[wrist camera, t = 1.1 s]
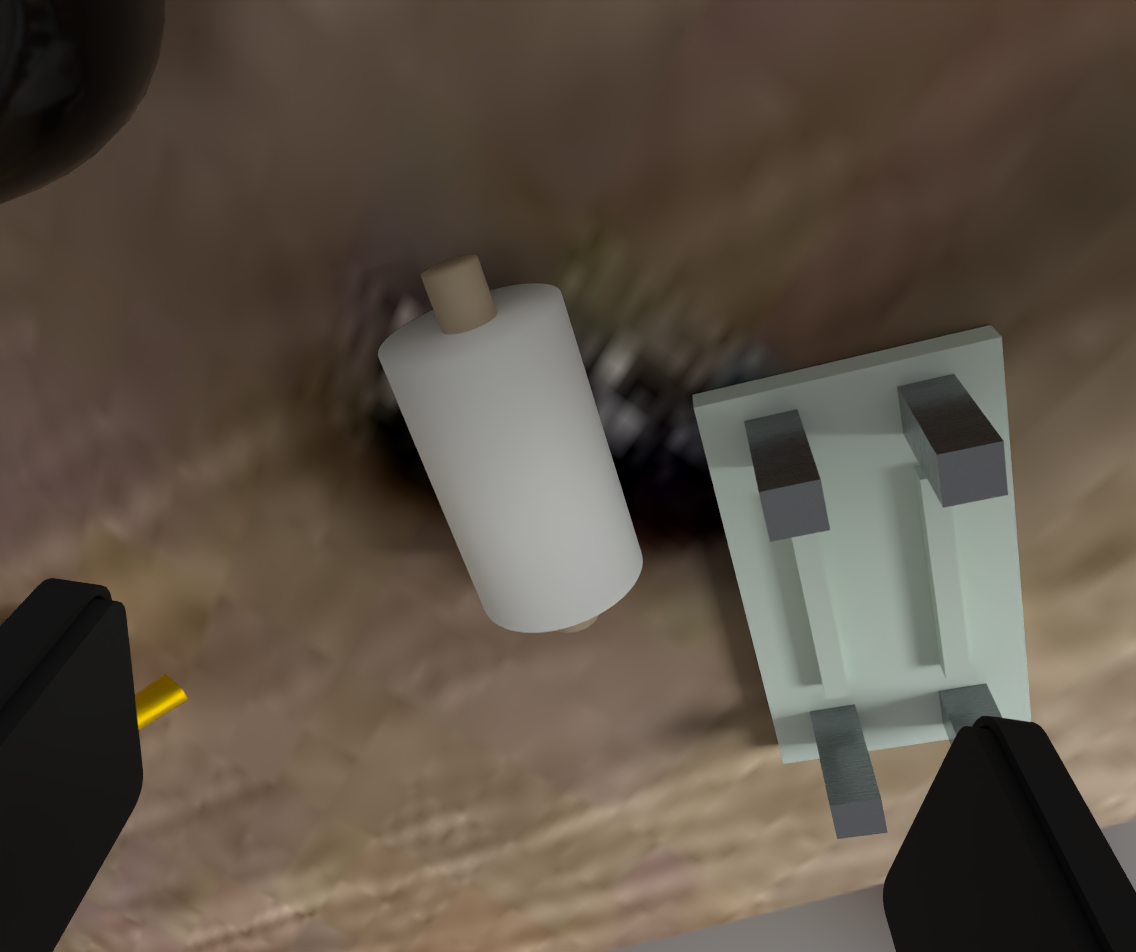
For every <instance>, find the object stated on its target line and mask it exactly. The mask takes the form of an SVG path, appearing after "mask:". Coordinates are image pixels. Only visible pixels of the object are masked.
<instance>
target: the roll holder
mask: <svg viewBox="0 0 1136 952" xmlns="http://www.w3.org/2000/svg"><path fill="white" fill-rule="evenodd" d="M692 397H693V407H694V411H695V415H696V419H697V423H698V427H699V431H700V435H701V439H702V443H703V447H704V451H705V455H706V459H707V463H708V467H709V471H710V475H711V479H712V483H713V487H714V491H715V494H716V498H717V502H718V506H719V510H720V514H721V518H722V522H723V526H724V530H725V534H726V538H727V542H728V546H729V550H730V554H731V558H732V562H733V566H734V570H735V574H736V578H737V581H738V585H739V589H740V593H741V597H742V601H743V605H744V609H745V613H746V617H747V621H748V625H749V629H750V633H751V637H752V641H753V645H754V649H755V653H756V657H757V661H758V665H759V669H760V672H761V676H762V680H763V684H764V688H765V692H766V696H767V700H768V704H769V708H770V712H771V716H772V720H773V724H774V728H775V732H776V736H777V740H778V744H779V748H780V752H781V756H782V759H783V763H784V764H785V763H792V762H798V761H805V760H812V759H819V758H820V762H821V767H822V771H823V776H824V781H825V785H826V790H827V795H828V799H829V804H830V809H831V813H832V817H833V822H834V826H835V831H836V835H837V839H841V838H849V837H856V836H864V835H872V834H879V833H887V828H886V822H885V817H884V812H883V806H882V801H881V797H880V793H879V790H878V786H877V782H876V779H875V775H874V772H873V768H872V764H871V761H870V757H869V754H868V751H873V750H880V749H886V748H893V747H900V746H907V745H913V744H920V743H927V742H934V741H940V740H947V739H949V741H950V743H951V745H952V743H953V741H954V739H955V737H956V735H957V733H958V732H959V730H960V729H961V728H962V727H964V726H971V727H972V725H973V724H974V723H975V721H976V720H977V719H978V718H980V717H981V716H993V717H1000V718H1007V719H1014V720H1020V721H1027V722H1031V712H1030V699H1029V686H1028V673H1027V660H1026V647H1025V634H1024V621H1023V608H1022V595H1021V581H1020V568H1019V555H1018V542H1017V529H1016V516H1015V503H1014V490H1013V477H1012V464H1011V451H1010V438H1009V425H1008V411H1007V398H1006V385H1005V372H1004V359H1003V346H1002V336H1001V335H1000V334H999V333H998V332H997V331H996V330H995V329H994V328H993V327H992V326H991V325H988V326H984V327H980V328H975V329H971V330H967V331H962V332H958V333H954V334H950V335H945V336H941V337H937V338H933V339H928V340H924V341H920V342H916V343H911V344H907V345H903V346H899V347H894V348H890V349H886V350H881V351H877V352H873V353H869V354H864V355H860V356H856V357H852V358H847V359H843V360H839V361H835V362H830V363H826V364H822V365H817V366H813V367H809V368H805V369H800V370H796V371H792V372H788V373H783V374H779V375H775V376H771V377H766V378H762V379H758V380H753V381H749V382H745V383H741V384H736V385H732V386H728V387H724V388H719V389H715V390H711V391H707V392H702V393H698V394H694V395H692Z"/></svg>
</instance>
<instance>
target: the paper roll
mask: <svg viewBox="0 0 1136 952" xmlns="http://www.w3.org/2000/svg"><path fill="white" fill-rule="evenodd" d="M421 278H422V281H423V283H424V286H425V289H426V291H427V294H428V297H429V299H430V302H431V305H432V307H433V310H432V311H429V312H427V313H425V314H423V315H421V316H419V317H418V318H416V319H414V320H412V321H410V322H409V323H407V324H405V325H404V326H402V327H401V328H399V329H398V330H396V331H395V332H394V333H393V334H391V335H390V336H389V337H388V338H387V339H386V340H385V341H384V342H383V343H382V345H381V346H380V348H379V350H378V357H379V360H380V362H381V364H382V367H383V369H384V372H385V374H386V376H387V379H388V381H389V384H390V386H391V388H392V391H393V393H394V396H395V398H396V400H397V403H398V405H399V407H400V410H401V412H402V415H403V417H404V419H405V422H406V424H407V427H408V429H409V431H410V434H411V436H412V439H413V441H414V443H415V446H416V448H417V450H418V453H419V455H420V458H421V460H422V462H423V465H424V467H425V470H426V472H427V474H428V477H429V479H430V481H431V484H432V486H433V489H434V491H435V493H436V496H437V498H438V501H439V503H440V505H441V508H442V510H443V513H444V515H445V517H446V520H447V522H448V524H449V527H450V529H451V532H452V534H453V536H454V539H455V541H456V544H457V546H458V548H459V551H460V553H461V556H462V558H463V560H464V563H465V565H466V567H467V570H468V572H469V575H470V577H471V579H472V582H473V584H474V587H475V589H476V591H477V594H478V596H479V599H480V601H481V603H482V606H483V608H484V610H485V612H486V614H487V616H488V617H489V618H490V619H491V620H492V621H493V622H494V623H496V624H497V625H499V626H501V627H503V628H505V629H509V630H512V631H517V632H527V633H537V632H548V631H555V630H557V631H560V632H563V633H573V632H578V631H581V630H583V629H585V628H587V627H589V626H590V625H592V624H593V623H594V622H595V621H596V620H597V618H598V616H599V614H601V613H602V612H604V611H606V610H607V609H609V608H610V607H612V606H613V605H614V604H616V603H617V602H618V601H619V600H621V599H622V598H623V597H624V596H625V595H626V594H627V593H628V592H629V591H630V590H631V588H632V587H633V586H634V584H635V583H636V581H637V579H638V577H639V575H640V573H641V570H642V564H643V559H642V553H641V550H640V547H639V543H638V540H637V537H636V534H635V530H634V527H633V524H632V521H631V517H630V514H629V511H628V508H627V504H626V501H625V498H624V495H623V491H622V488H621V485H620V482H619V478H618V475H617V472H616V469H615V465H614V462H613V459H612V456H611V452H610V449H609V446H608V443H607V439H606V436H605V433H604V430H603V426H602V423H601V420H600V417H599V413H598V410H597V407H596V404H595V400H594V397H593V394H592V391H591V387H590V384H589V381H588V378H587V374H586V371H585V368H584V365H583V361H582V358H581V355H580V352H579V348H578V345H577V342H576V339H575V335H574V332H573V329H572V326H571V322H570V319H569V316H568V313H567V309H566V306H565V303H564V300H563V296H562V293H561V290H560V289H559V288H557V287H555V286H553V285H549V284H543V283H528V284H518V285H511V286H505V287H501V288H497V289H493V290H490V291H489V288H488V285H487V282H486V279H485V276H484V273H483V270H482V267H481V264H480V262H479V259H478V256H477V255H465V256H460V257H456V258H452V259H449V260H446V261H443V262H441V263H439V264H436V265H434V266H432V267H430V268H428V269H427V270H425V271H424V272H423V273H422V274H421Z"/></svg>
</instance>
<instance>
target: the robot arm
mask: <svg viewBox="0 0 1136 952" xmlns="http://www.w3.org/2000/svg"><path fill="white" fill-rule="evenodd" d="M142 782H143V767H142V758H141V748H140V739H139V730H138V720H137V711H136V702H135V693H134V683H133V674H132V665H131V656H130V646H129V637H128V628H127V619H126V611H125V607H124V605H123V604H122V603H121V602H118V601H112V598H111V594H110V592H109V590H108V589H107V587H105V586H102V585H96V584H89V583H82V582H75V581H68V580H62V579H55V578H50V579H47V580H45V581H43V582H42V583H41V584H40V585H38V586H37V588H36V589H35V590H34V591H33V592H32V593H31V594H30V595H29V596H28V597H27V598H26V599H25V600H24V602H23V603H22V604H21V605H20V606H19V607H18V608H17V609H16V610H15V611H14V612H13V613H12V614H11V616H10V617H9V618H8V619H7V620H6V621H5V622H4V623H3V624H2V625H1V626H0V952H53V950H54V948H55V947H56V945H57V943H58V941H59V940H60V938H61V936H62V934H63V933H64V931H65V929H66V927H67V926H68V924H69V922H70V920H71V918H72V917H73V915H74V913H75V911H76V910H77V908H78V906H79V904H80V903H81V901H82V899H83V897H84V896H85V894H86V892H87V890H88V889H89V887H90V885H91V883H92V882H93V880H94V878H95V876H96V875H97V873H98V871H99V869H100V868H101V866H102V864H103V862H104V860H105V859H106V857H107V855H108V853H109V852H110V850H111V848H112V846H113V845H114V843H115V841H116V839H117V838H118V836H119V834H120V832H121V831H122V829H123V827H124V825H125V824H126V822H127V820H128V818H129V817H130V815H131V813H132V811H133V809H134V807H135V805H136V803H137V801H138V798H139V795H140V792H141V788H142ZM883 903H884V910H885V915H886V918H887V922H888V925H889V928H890V932H891V935H892V939H893V943H894V946H895V949H896V952H1136V892H1135V890H1134V888H1133V886H1132V885H1131V883H1130V881H1129V879H1128V878H1127V876H1126V874H1125V872H1124V870H1123V869H1122V867H1121V865H1120V863H1119V862H1118V860H1117V858H1116V856H1115V855H1114V853H1113V851H1112V849H1111V847H1110V846H1109V844H1108V842H1107V840H1106V839H1105V837H1104V835H1103V833H1102V832H1101V830H1100V828H1099V826H1098V824H1097V823H1096V821H1095V819H1094V817H1093V815H1092V814H1091V812H1090V810H1089V808H1088V807H1087V805H1086V803H1085V801H1084V800H1083V798H1082V796H1081V794H1080V792H1079V791H1078V789H1077V787H1076V785H1075V784H1074V782H1073V780H1072V778H1071V776H1070V775H1069V773H1068V771H1067V769H1066V768H1065V766H1064V764H1063V762H1062V761H1061V759H1060V757H1059V755H1058V753H1057V752H1056V750H1055V748H1054V746H1053V745H1052V743H1051V741H1050V739H1049V737H1048V736H1047V734H1046V733H1045V731H1044V730H1043V729H1042V727H1041V726H1039V725H1038V724H1036V723H1034V722H1027V721H1020V720H1014V719H1007V718H1000V717H993V716H981V717H980V718H978V719H977V720H976V721H975V723H974V724H973V725H972V727H971V726H964V727H962V728H961V729H960V730H959V732H958V733H957V735H956V737H955V739H954V741H953V743H952V745H951V747H950V749H949V751H948V753H947V755H946V757H945V759H944V761H943V763H942V765H941V767H940V769H939V771H938V773H937V775H936V777H935V779H934V781H933V783H932V785H931V787H930V789H929V791H928V793H927V795H926V797H925V799H924V801H923V803H922V805H921V807H920V809H919V812H918V814H917V816H916V818H915V820H914V822H913V824H912V826H911V828H910V830H909V832H908V834H907V836H906V838H905V840H904V842H903V844H902V846H901V848H900V850H899V852H898V854H897V856H896V858H895V860H894V862H893V864H892V866H891V868H890V870H889V872H888V874H887V877H886V879H885V883H884V889H883Z"/></svg>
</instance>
